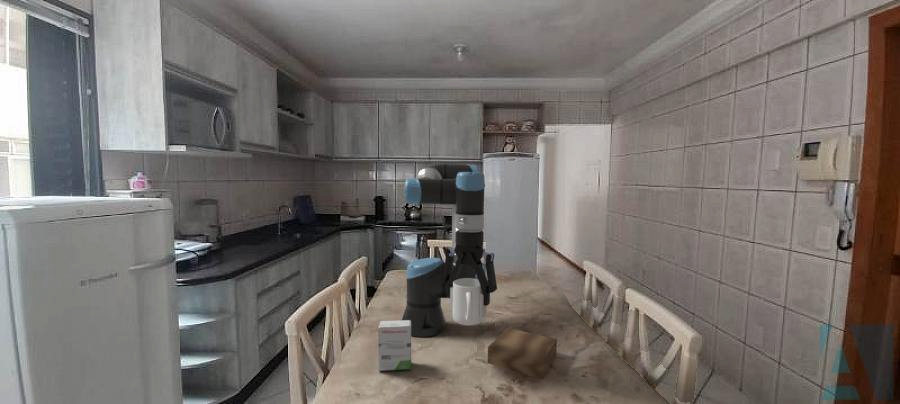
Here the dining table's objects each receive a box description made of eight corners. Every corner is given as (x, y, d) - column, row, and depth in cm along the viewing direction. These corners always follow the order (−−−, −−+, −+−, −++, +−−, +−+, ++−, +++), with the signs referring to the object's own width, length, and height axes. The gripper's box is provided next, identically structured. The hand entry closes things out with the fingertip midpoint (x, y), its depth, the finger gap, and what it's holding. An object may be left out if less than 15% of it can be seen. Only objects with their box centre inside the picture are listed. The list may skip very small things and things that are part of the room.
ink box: (411, 360, 97) (411, 318, 96) (411, 370, 92) (411, 326, 91) (379, 361, 96) (379, 319, 95) (377, 371, 91) (377, 327, 91)
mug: (485, 332, 87) (486, 292, 87) (452, 332, 87) (453, 291, 87) (481, 314, 99) (482, 278, 99) (452, 313, 99) (453, 277, 99)
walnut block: (487, 364, 96) (487, 346, 96) (507, 343, 109) (507, 327, 109) (541, 380, 89) (542, 361, 89) (556, 356, 102) (556, 339, 101)
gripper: (428, 228, 96) (427, 309, 97) (501, 235, 85) (498, 326, 87) (443, 225, 102) (442, 301, 104) (512, 231, 92) (509, 316, 93)
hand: (467, 312), depth 95 cm, fingers closed on mug, 8 cm apart
